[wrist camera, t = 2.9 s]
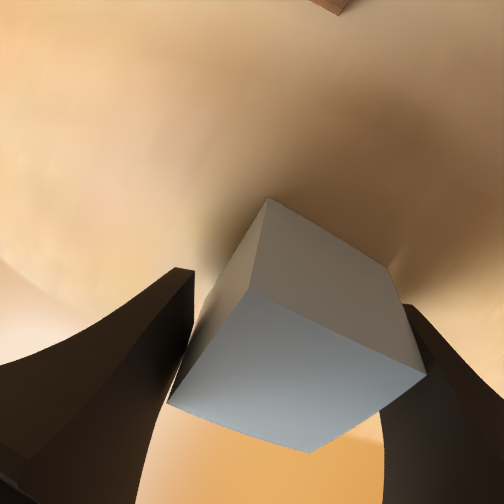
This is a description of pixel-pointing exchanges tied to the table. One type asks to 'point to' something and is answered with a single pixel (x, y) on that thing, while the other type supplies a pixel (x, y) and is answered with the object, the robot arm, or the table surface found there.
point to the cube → (297, 337)
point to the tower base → (332, 5)
